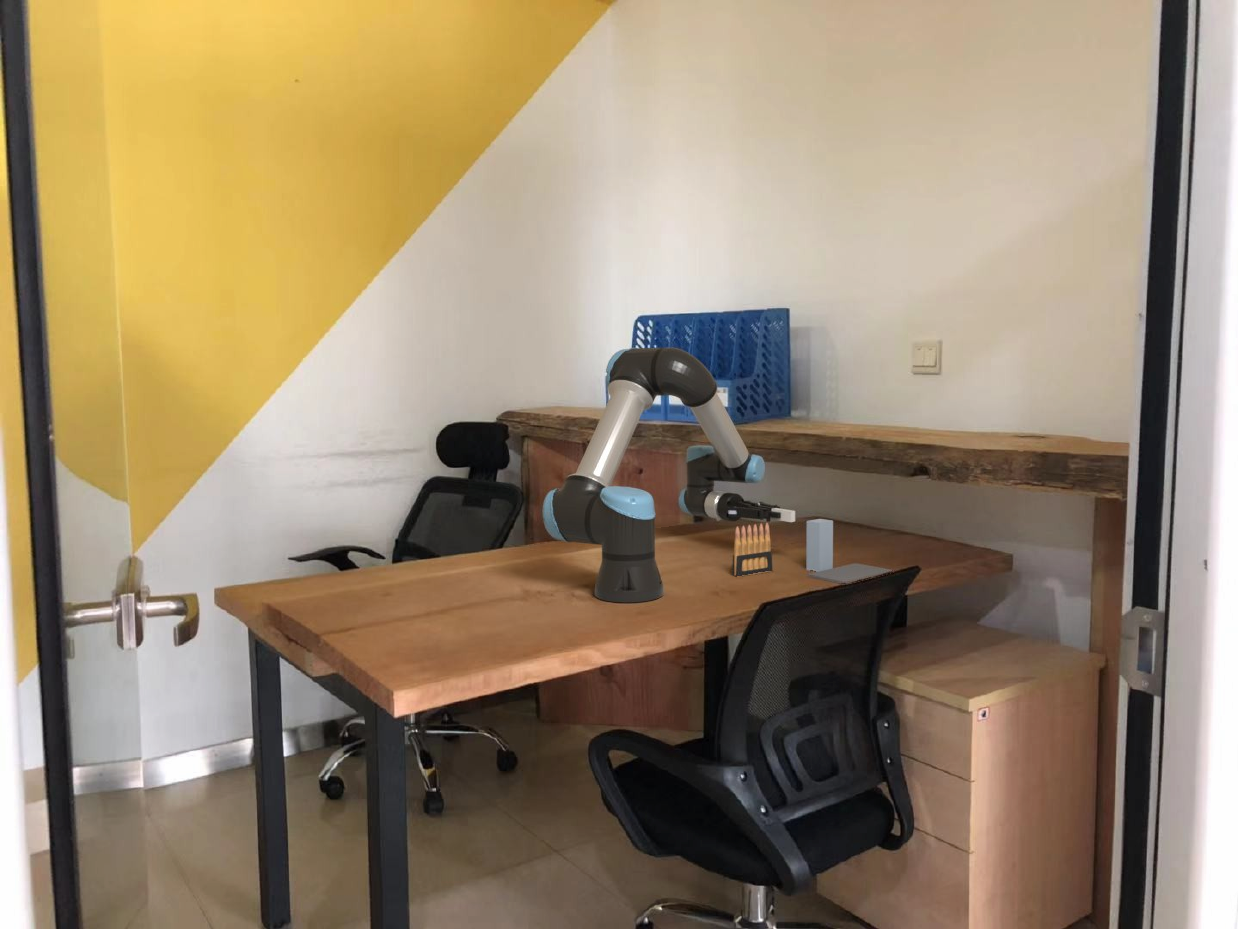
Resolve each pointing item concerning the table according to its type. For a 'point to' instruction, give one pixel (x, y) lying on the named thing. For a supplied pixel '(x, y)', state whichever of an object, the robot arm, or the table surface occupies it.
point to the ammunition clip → (752, 551)
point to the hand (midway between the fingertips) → (793, 516)
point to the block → (819, 545)
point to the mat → (848, 573)
